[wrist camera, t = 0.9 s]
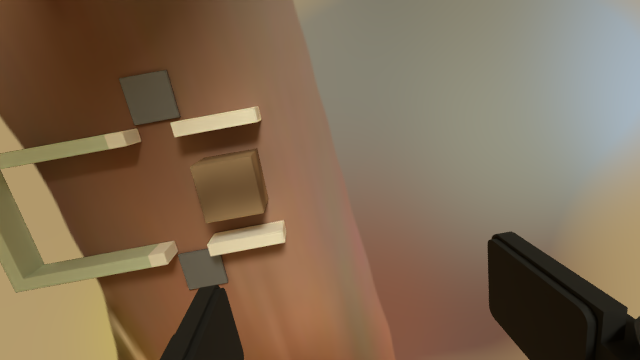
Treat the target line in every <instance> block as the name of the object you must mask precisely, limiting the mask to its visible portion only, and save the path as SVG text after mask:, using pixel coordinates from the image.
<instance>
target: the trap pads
mask: <svg viewBox="0 0 640 360" xmlns="http://www.w3.org/2000/svg"><path fill="white" fill-rule="evenodd" d="M119 81H120V84H121V87H122V90H123V93H124V96H125V99H126V102H127V105H128V108H129V111H130V114H131V116H132V119H133V122H134V125H139V124H145V123H150V122H156V121H161V120H167V119H172V118H177V117H180V114H179V110H178V107H177V104H176V100H175V97H174V93H173V90H172V86H171V83H170V80H169V76H168V73H167V70H163V71H157V72H152V73H146V74H141V75H135V76H130V77H124V78H119ZM178 257H179V260H180V263H181V266H182V269H183V272H184V275H185V278H186V281H187V284H188V287H189V290H191V289H196V288H201V287H206V286H212V285H218V284H223V283H228V278H227V275H226V271H225V268H224V265H223V261H222V258H221V255H215V256H210V253H209V249H203V250H198V251H192V252H187V253H181V254H179V255H178Z"/></svg>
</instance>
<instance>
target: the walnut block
mask: <svg viewBox="0 0 640 360" xmlns="http://www.w3.org/2000/svg"><path fill="white" fill-rule="evenodd" d="M190 170H191V173H192V177H193V180H194V184H195V187H196V190H197V194H198V197H199V201H200V204H201V208H202V211H203V215H204V218H205V222H206V223H211V222H217V221H222V220H228V219H234V218H239V217H245V216H250V215H256V214H262V213H264V211H265V208H266V205H267V202H268V194H267V190H266V186H265V181H264V177H263V172H262V168H261V163H260V159H259V154H258V150H257V149H251V150H246V151H240V152H234V153H229V154H223V155H217V156H212V157H206V158H203V159H201V160H200V161H198V162H197V163H195V164H194V165H192V166H191V167H190Z"/></svg>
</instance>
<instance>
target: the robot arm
mask: <svg viewBox="0 0 640 360" xmlns="http://www.w3.org/2000/svg"><path fill="white" fill-rule="evenodd" d="M488 274H489V276H488V277H489V308H490V311H491V314H492V316H493V317H494V318H495V320H496V321H497V322H498V323H499V325H500V326H501V327H502V328H503V329H504V330H505V332H506V333H507V334H508V335H509V336H510V337H511V339H512V340H513V341H514V342H515V343H516V344H517V345H518V347H519V348H520V349H521V350H522V351H523V353H525V355H526V356H527V357H528V359H529V360H640V316H639V317H638V318H637V319H634V318H633V317H631V316H630V315H628V314H627V309H628V308H627V307H626V306H624V305H623V304H621V303H620V302H618V301H617V300H615V299H613V298H612V297H611V296H609V295H608V294H606V293H605V292H603V291H602V290H600V289H598V288H597V287H596V286H594V285H593V284H591V283H589V282H588V281H586V280H585V279H583V278H582V277H580V276H579V275H577V274H576V273H574V272H573V271H571V270H570V269H568V268H567V267H565V266H564V265H562V264H561V263H559V262H558V261H556V260H554V259H553V258H552V257H550V256H548V255H547V254H545V253H544V252H542V251H541V250H539V249H538V248H536V247H535V246H533V245H532V244H530V243H529V242H527V241H526V240H524V239H523V238H521V237H520V236H518V235H517V234H515V233H513V232H506V233H500V234H495V235H493V237H492V239H491V240H489V241H488ZM160 360H244V353H243V349H242V346H241V342H240V339H239V335H238V332H237V328H236V325H235V321H234V318H233V314H232V311H231V307H230V304H229V301H228V297H227V294H226V291H225V289H224V288H220V287H219V286H218V285H212V286H206V287H201V288H199V290H198V291H197V293H196V295H195V297H194V299H193V301H192V303H191V305H190V307H189V309H188V311H187V312H186V314H185V316H184V318H183V320H182V322H181V324H180V326H179V328H178V330H177V332H176V333H175V334H174V335H173V337H172V338H171V340H170V341H169V343H168V345H167V347H166V349H165V351H164V353H163V355H162V356H161V358H160Z"/></svg>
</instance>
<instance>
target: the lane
mask: <svg viewBox="0 0 640 360" xmlns="http://www.w3.org/2000/svg"><path fill="white" fill-rule="evenodd" d="M260 120H261V116H260V111H259V107H258V106H257V107H251V108H246V109H240V110H235V111H229V112H224V113H218V114H213V115H208V116H202V117H197V118H191V119H186V120H180V121H176V122H172V123H170V124H171V127H172V130H173V134H174V137H179V136H184V135H189V134H195V133H200V132H206V131H211V130H217V129H222V128H228V127H233V126H239V125H244V124H249V123H255V122H258V121H260ZM138 142H142V141H141V138H140V135H139V132H138V129H131V130H126V131H120V132H115V133H109V134H104V135H98V136H93V137H87V138H82V139H77V140H71V141H66V142H60V143H55V144H49V145H44V146H38V147H33V148H27V149H22V150H17V151H12V152H6V153H0V169H4V168H10V167H14V166H21V165H25V164H31V163H37V162H42V161H48V160H53V159H59V158H64V157H70V156H75V155H80V154H86V153H91V152H97V151H102V150H108V149H113V148H119V147H124V146H129V145H132V144H135V143H138ZM285 239H286V227H285V223H284V220H283V221H277V222H272V223H266V224H261V225H256V226H250V227H245V228H240V229H234V230H229V231H223V232H218V233H214V235H213V236H212V238H211V239H210V241H209V243H208V244H207V246H208V249H209V253H210V256H215V255H221V254H226V253H231V252H237V251H242V250H248V249H253V248H258V247H264V246H269V245H274V244H280V243H285ZM177 252H178V250H177V247H176V244H175V241H169V242H164V243H159V244H153V245H148V246H143V247H137V248H132V249H126V250H121V251H116V252H110V253H105V254H99V255H94V256H89V257H83V258H78V259H73V260H67V261H62V262H57V263H51V264H46V265H44V263H43V261H42V258H41V256H40V254H39V252H38V250H37V247H36V245H35V243H34V241H33V239H32V237H31V235H30V232H29V230H28V228H27V226H26V224H25V222H24V219H23V217H22V215H21V213H20V211H19V209H18V207H17V204H16V202H15V200H14V198H13V196H12V194H11V192H10V189H9V187H8V185H7V183H6V181H5V179H4V177H3V174H2V172H1V170H0V262H1V264H2V266H3V268H4V270H5V272H6V274H7V276H8V278H9V280H10V282H11V284H12V286H13V288H14V290H15V292H16V293H17V292H22V291H27V290H33V289H38V288H43V287H48V286H54V285H60V284H64V283H70V282H76V281H81V280H86V279H91V278H97V277H103V276H108V275H113V274H119V273H124V272H129V271H135V270H140V269H145V268H151V267H156V266H162V265H167V264H169V262H170V261H171V260H172V258H173V257H174V256H175V255H176V253H177Z"/></svg>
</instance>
